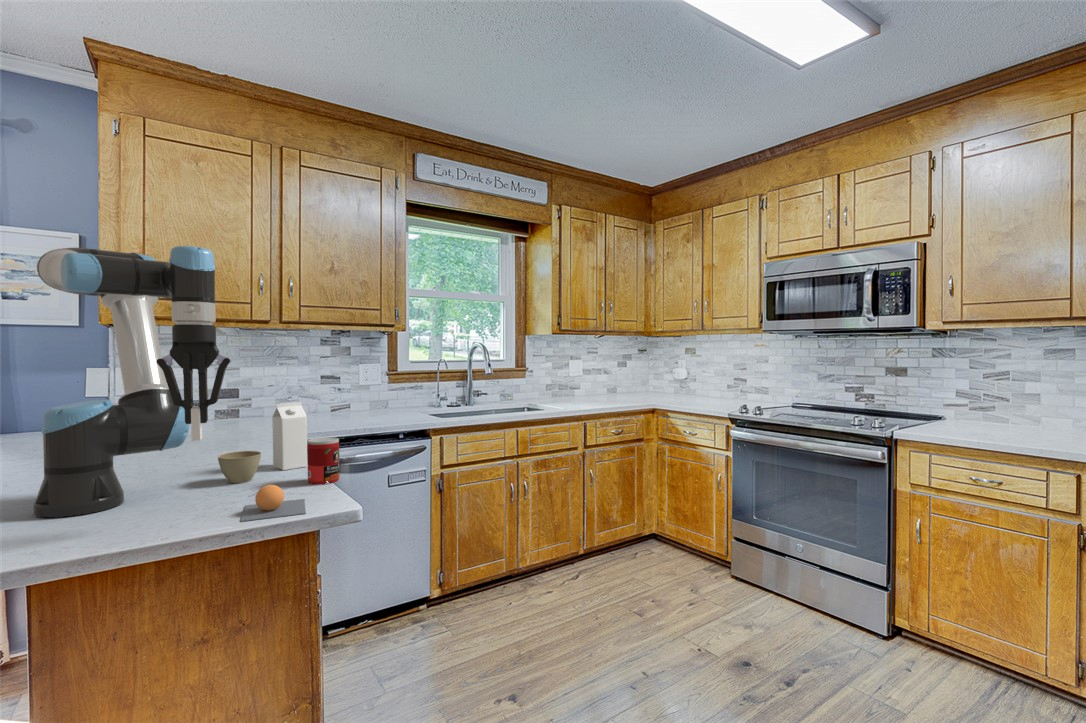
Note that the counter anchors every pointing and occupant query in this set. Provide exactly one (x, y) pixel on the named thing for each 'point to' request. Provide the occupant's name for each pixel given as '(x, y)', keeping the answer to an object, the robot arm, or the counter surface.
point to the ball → (269, 497)
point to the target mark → (283, 510)
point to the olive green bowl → (239, 465)
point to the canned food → (323, 460)
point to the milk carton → (289, 436)
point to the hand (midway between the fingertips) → (196, 439)
